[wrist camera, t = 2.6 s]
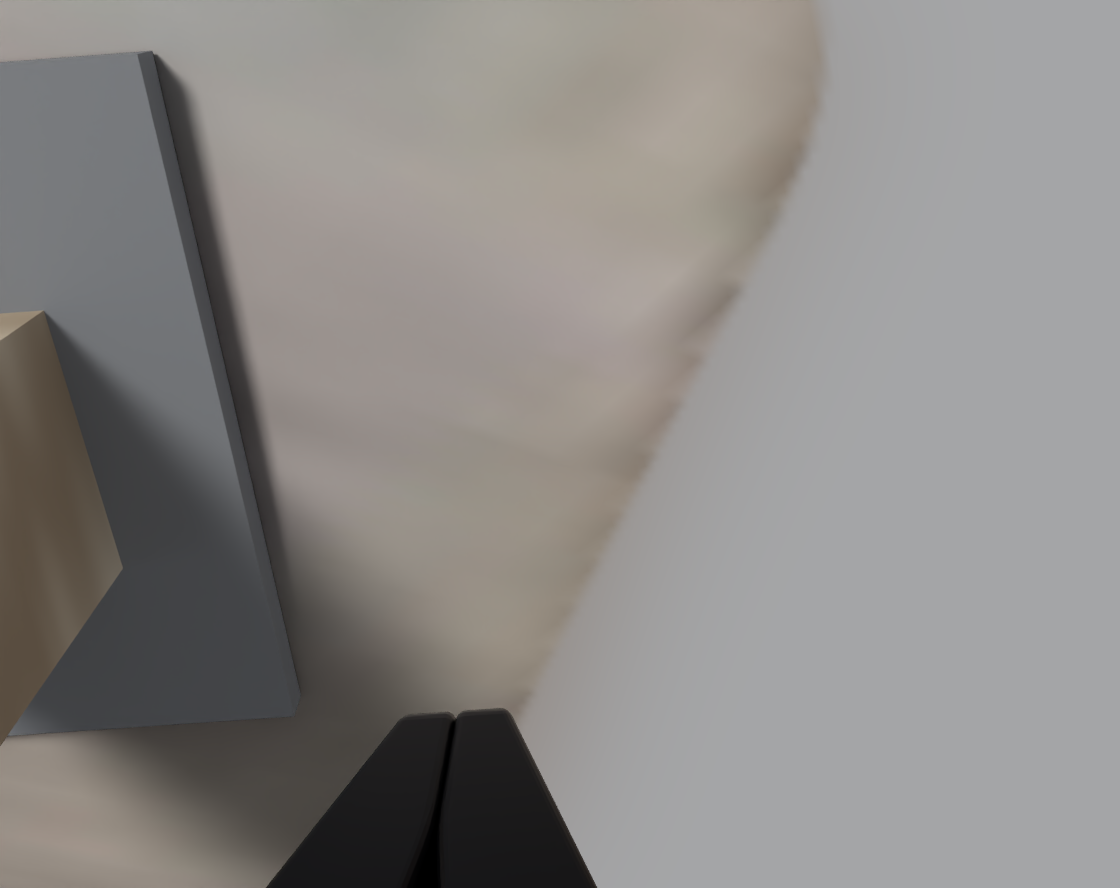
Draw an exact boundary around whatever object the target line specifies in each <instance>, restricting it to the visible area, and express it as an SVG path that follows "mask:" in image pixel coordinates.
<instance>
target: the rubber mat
mask: <svg viewBox="0 0 1120 888" xmlns="http://www.w3.org/2000/svg"><path fill="white" fill-rule="evenodd" d="M43 310H44V313H45V316H46V320H47V323H48V326H49V329H50V333H51V336H52V339H53V342H54V346H55V349H56V352H57V355H58V359H59V362H60V365H61V368H62V372H63V375H64V378H65V381H66V385H67V388H68V391H69V394H70V398H71V401H72V404H73V407H74V410H75V414H76V417H77V420H78V423H79V427H80V430H81V433H82V436H83V440H84V443H85V446H86V449H87V453H88V456H89V459H90V462H91V466H92V469H93V472H94V475H95V479H96V482H97V485H98V488H99V492H100V495H101V498H102V501H103V505H104V508H105V511H106V514H107V518H108V521H109V524H110V527H111V531H112V534H113V537H114V540H115V544H116V547H117V550H118V553H119V557H120V560H121V563H122V566H123V569H122V570H121V572H120V573H119V575H118V576H117V578H116V579H115V581H114V582H113V584H112V585H111V586H110V588H109V589H108V591H107V592H106V594H105V595H104V597H103V598H102V599H101V601H100V602H99V604H98V605H97V607H96V608H95V610H94V611H93V612H92V614H91V615H90V617H89V618H88V620H87V621H86V623H85V624H84V626H83V627H82V628H81V630H80V631H79V633H78V634H77V636H76V637H75V639H74V640H73V641H72V643H71V644H70V646H69V647H68V649H67V650H66V652H65V653H64V654H63V656H62V657H61V659H60V660H59V662H58V663H57V665H56V666H55V668H54V669H53V670H52V672H51V673H50V675H49V676H48V678H47V679H46V681H45V682H44V683H43V685H42V686H41V688H40V689H39V691H38V692H37V694H36V695H35V696H34V698H33V699H32V701H31V702H30V704H29V705H28V707H27V708H26V710H25V711H24V712H23V714H22V715H21V717H20V718H19V720H18V721H17V723H16V724H15V725H14V727H13V728H12V730H11V731H10V733H9V734H8V736H12V735H27V734H42V733H57V732H71V731H86V730H101V729H116V728H131V727H145V726H160V725H175V724H190V723H205V722H219V721H234V720H249V719H264V718H279V717H293V716H295V713H296V710H297V707H298V703H299V700H300V697H301V694H300V690H299V685H298V681H297V677H296V672H295V668H294V664H293V659H292V655H291V651H290V646H289V642H288V638H287V633H286V629H285V625H284V620H283V616H282V612H281V607H280V603H279V599H278V594H277V590H276V586H275V581H274V577H273V573H272V568H271V564H270V560H269V555H268V551H267V547H266V542H265V538H264V534H263V529H262V525H261V521H260V516H259V512H258V508H257V503H256V499H255V495H254V490H253V486H252V482H251V477H250V473H249V468H248V464H247V460H246V455H245V451H244V447H243V442H242V438H241V434H240V429H239V425H238V421H237V416H236V412H235V408H234V403H233V399H232V395H231V390H230V386H229V382H228V377H227V373H226V369H225V364H224V360H223V356H222V351H221V347H220V343H219V338H218V334H217V330H216V325H215V321H214V317H213V312H212V308H211V304H210V299H209V295H208V291H207V286H206V282H205V278H204V273H203V269H202V265H201V260H200V256H199V252H198V247H197V243H196V239H195V234H194V230H193V226H192V221H191V217H190V213H189V208H188V204H187V200H186V195H185V191H184V187H183V182H182V178H181V174H180V169H179V165H178V161H177V156H176V152H175V148H174V143H173V139H172V135H171V130H170V126H169V122H168V117H167V113H166V109H165V104H164V100H163V96H162V91H161V87H160V83H159V78H158V74H157V70H156V65H155V61H154V57H153V52H152V51H143V52H130V53H117V54H103V55H90V56H77V57H64V58H50V59H37V60H24V61H10V62H0V314H2V313H15V312H29V311H43Z"/></svg>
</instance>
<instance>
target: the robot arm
mask: <svg viewBox="0 0 1120 888" xmlns="http://www.w3.org/2000/svg"><path fill="white" fill-rule="evenodd" d="M266 888H597V886H596V884H595V882H594V880H593V878H592V876H591V874H590V873H589V870H588V868H587V866H586V864H585V862H584V860H583V858H582V856H581V854H580V852H579V850H578V848H577V846H576V844H575V842H574V840H573V838H572V836H571V834H570V832H569V830H568V828H567V826H566V824H565V822H564V820H563V818H562V816H561V814H560V812H559V810H558V808H557V806H556V804H555V802H554V800H553V798H552V796H551V794H550V792H549V790H548V788H547V786H546V784H545V782H544V780H543V778H542V776H541V773H540V771H539V769H538V767H537V766H536V763H535V761H534V759H533V758H532V755H531V753H530V751H529V749H528V747H527V745H526V743H525V741H524V739H523V737H522V735H521V733H520V731H519V729H518V727H517V725H516V723H515V721H514V719H513V717H512V715H511V714H510V713H509V711H508V710H506V709H503V708H496V709H482V710H467V711H462V712H461V713H460V714H459V715H458V716H457V718H455V716H454V715H453V714H451V713H450V712H437V713H422V714H410V715H406V716H404V717H403V718H402V719H400V720H399V721H398V722H397V724H396V725H395V726H394V727H393V729H392V730H391V731H390V733H389V734H388V735H387V736H386V738H385V739H384V740H383V741H382V743H381V744H380V745H379V746H378V748H377V749H376V750H375V751H374V753H373V754H372V755H371V756H370V758H369V759H368V760H367V761H366V763H365V764H364V765H363V766H362V768H361V769H360V770H359V771H358V773H357V774H356V775H355V777H354V778H353V779H352V780H351V782H350V783H349V784H348V785H347V787H346V788H345V789H344V790H343V792H342V793H341V794H340V795H339V797H338V798H337V799H336V800H335V802H334V803H333V804H332V805H331V807H330V808H329V809H328V810H327V812H326V813H325V814H324V815H323V817H322V818H321V819H320V821H319V822H318V823H317V824H316V826H315V827H314V828H313V829H312V831H311V832H310V833H309V834H308V836H307V837H306V838H305V839H304V841H303V842H302V843H301V844H300V846H299V847H298V848H297V849H296V851H295V852H294V853H293V854H292V856H291V857H290V858H289V859H288V861H287V862H286V863H285V865H284V866H283V867H282V868H281V870H280V871H279V872H278V873H277V875H276V876H275V877H274V878H273V880H272V881H271V882H270V883H269V885H268V886H267V887H266Z"/></svg>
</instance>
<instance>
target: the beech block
mask: <svg viewBox="0 0 1120 888" xmlns="http://www.w3.org/2000/svg"><path fill="white" fill-rule="evenodd" d="M122 569H123V566H122V563H121V560H120V557H119V553H118V550H117V547H116V544H115V540H114V537H113V534H112V531H111V527H110V524H109V521H108V518H107V514H106V511H105V508H104V505H103V501H102V498H101V495H100V492H99V488H98V485H97V482H96V479H95V475H94V472H93V469H92V466H91V462H90V459H89V456H88V453H87V449H86V446H85V443H84V440H83V436H82V433H81V430H80V427H79V423H78V420H77V417H76V414H75V410H74V407H73V404H72V401H71V398H70V394H69V391H68V388H67V385H66V381H65V378H64V375H63V372H62V368H61V365H60V362H59V359H58V355H57V352H56V349H55V346H54V342H53V339H52V336H51V333H50V329H49V326H48V323H47V320H46V316H45V313H44V310H43V311H29V312H15V313H2V314H0V746H1V744H2V743H3V741H4V740H5V738H6V737H7V736H8V734H9V733H10V731H11V730H12V728H13V727H14V725H15V724H16V723H17V721H18V720H19V718H20V717H21V715H22V714H23V712H24V711H25V710H26V708H27V707H28V705H29V704H30V702H31V701H32V699H33V698H34V696H35V695H36V694H37V692H38V691H39V689H40V688H41V686H42V685H43V683H44V682H45V681H46V679H47V678H48V676H49V675H50V673H51V672H52V670H53V669H54V668H55V666H56V665H57V663H58V662H59V660H60V659H61V657H62V656H63V654H64V653H65V652H66V650H67V649H68V647H69V646H70V644H71V643H72V641H73V640H74V639H75V637H76V636H77V634H78V633H79V631H80V630H81V628H82V627H83V626H84V624H85V623H86V621H87V620H88V618H89V617H90V615H91V614H92V612H93V611H94V610H95V608H96V607H97V605H98V604H99V602H100V601H101V599H102V598H103V597H104V595H105V594H106V592H107V591H108V589H109V588H110V586H111V585H112V584H113V582H114V581H115V579H116V578H117V576H118V575H119V573H120V572H121V570H122Z"/></svg>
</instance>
